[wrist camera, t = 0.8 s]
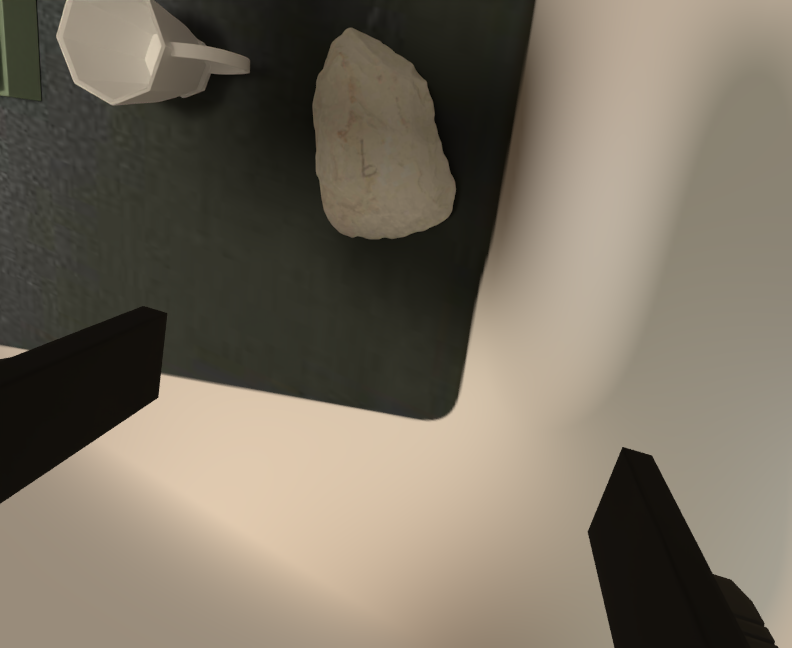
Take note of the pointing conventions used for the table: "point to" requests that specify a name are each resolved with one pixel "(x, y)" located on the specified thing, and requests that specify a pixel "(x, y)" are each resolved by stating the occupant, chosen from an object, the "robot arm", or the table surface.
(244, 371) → the table surface
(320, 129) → the stone
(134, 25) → the cup
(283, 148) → the table surface
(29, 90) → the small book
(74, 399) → the robot arm
